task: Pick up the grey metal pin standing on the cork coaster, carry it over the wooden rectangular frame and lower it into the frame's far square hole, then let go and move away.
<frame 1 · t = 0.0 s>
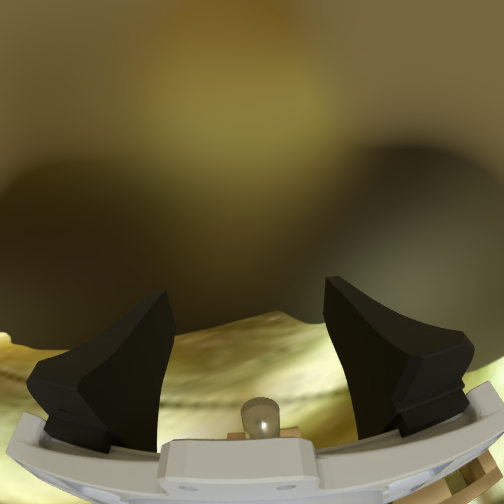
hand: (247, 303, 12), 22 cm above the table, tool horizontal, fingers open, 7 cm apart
pin: (265, 460, 22), resting on cork coaster
wooden rectangular frame: (406, 502, 14), on the table
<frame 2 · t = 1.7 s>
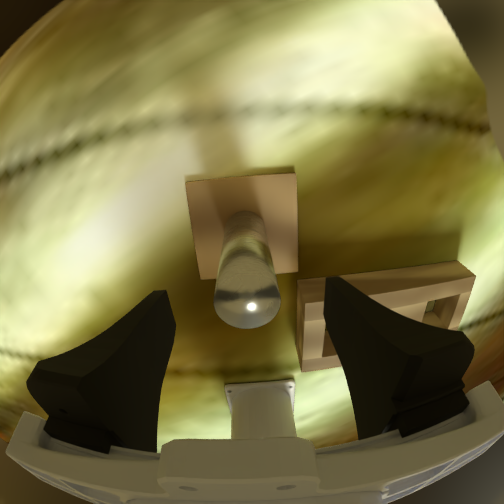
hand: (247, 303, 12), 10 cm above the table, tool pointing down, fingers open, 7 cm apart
pin: (245, 229, 21), resting on cork coaster
cork coaster: (245, 227, 21), on the table
wooden rectangular frame: (383, 304, 25), on the table
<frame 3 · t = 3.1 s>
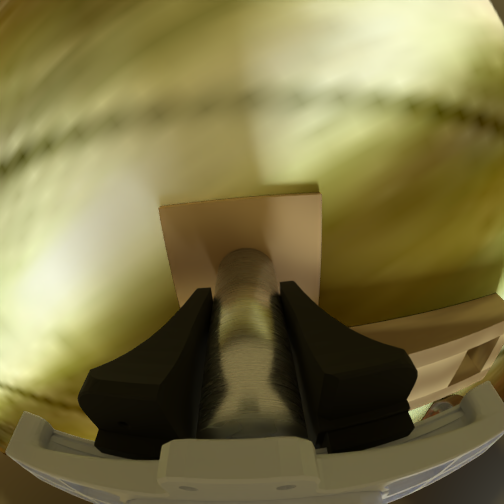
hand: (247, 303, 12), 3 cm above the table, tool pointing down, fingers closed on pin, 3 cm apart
tin: (429, 415, 26), on the table
pin: (246, 273, 15), resting on cork coaster, touching gripper
cork coaster: (246, 270, 15), on the table
wooden rectangular frame: (414, 350, 19), on the table
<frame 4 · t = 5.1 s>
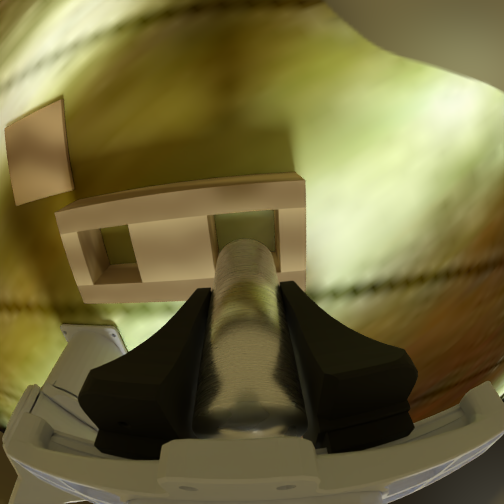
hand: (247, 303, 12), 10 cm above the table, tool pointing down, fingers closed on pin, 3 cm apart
pin: (245, 265, 15), point 7 cm above the table, touching gripper
cork coaster: (36, 155, 18), on the table
wooden rectangular frame: (181, 232, 21), on the table
when the fingers open (4 cm above the table, at t = 7.1 s): pin drops 2 cm, resting in wooden rectangular frame.
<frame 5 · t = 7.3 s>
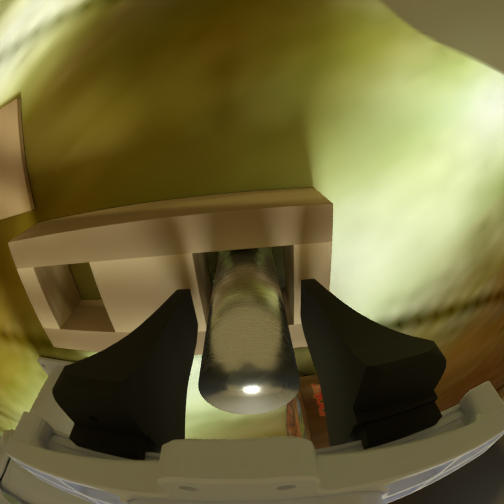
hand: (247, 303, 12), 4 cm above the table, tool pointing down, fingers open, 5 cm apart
tin: (302, 404, 23), on the table
pin: (245, 252, 16), resting in wooden rectangular frame
wooden rectangular frame: (163, 266, 16), on the table
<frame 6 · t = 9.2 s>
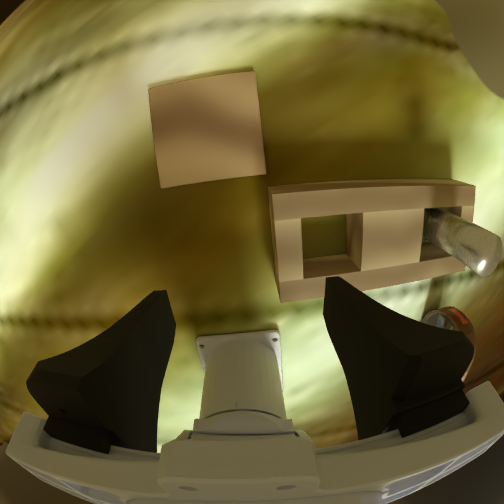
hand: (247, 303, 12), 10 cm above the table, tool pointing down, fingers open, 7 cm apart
tin: (422, 343, 28), on the table
pin: (420, 216, 22), resting in wooden rectangular frame
cork coaster: (206, 128, 19), on the table
wooden rectangular frame: (375, 225, 22), on the table
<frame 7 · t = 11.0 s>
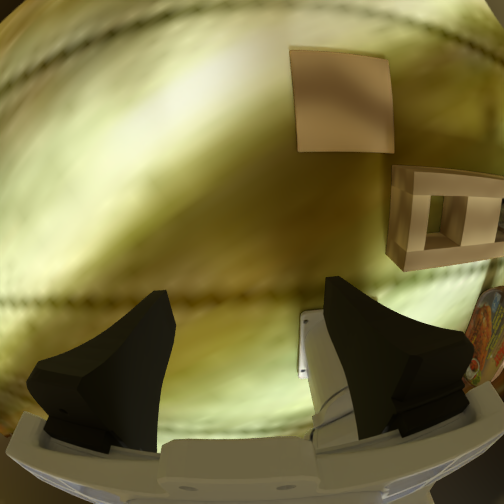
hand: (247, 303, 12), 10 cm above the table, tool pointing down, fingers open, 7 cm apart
tin: (474, 321, 28), on the table
pin: (489, 206, 21), resting in wooden rectangular frame
cork coaster: (345, 101, 18), on the table
wooden rectangular frame: (461, 209, 21), on the table
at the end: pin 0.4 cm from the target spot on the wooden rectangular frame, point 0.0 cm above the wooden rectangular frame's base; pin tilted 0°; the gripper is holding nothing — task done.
